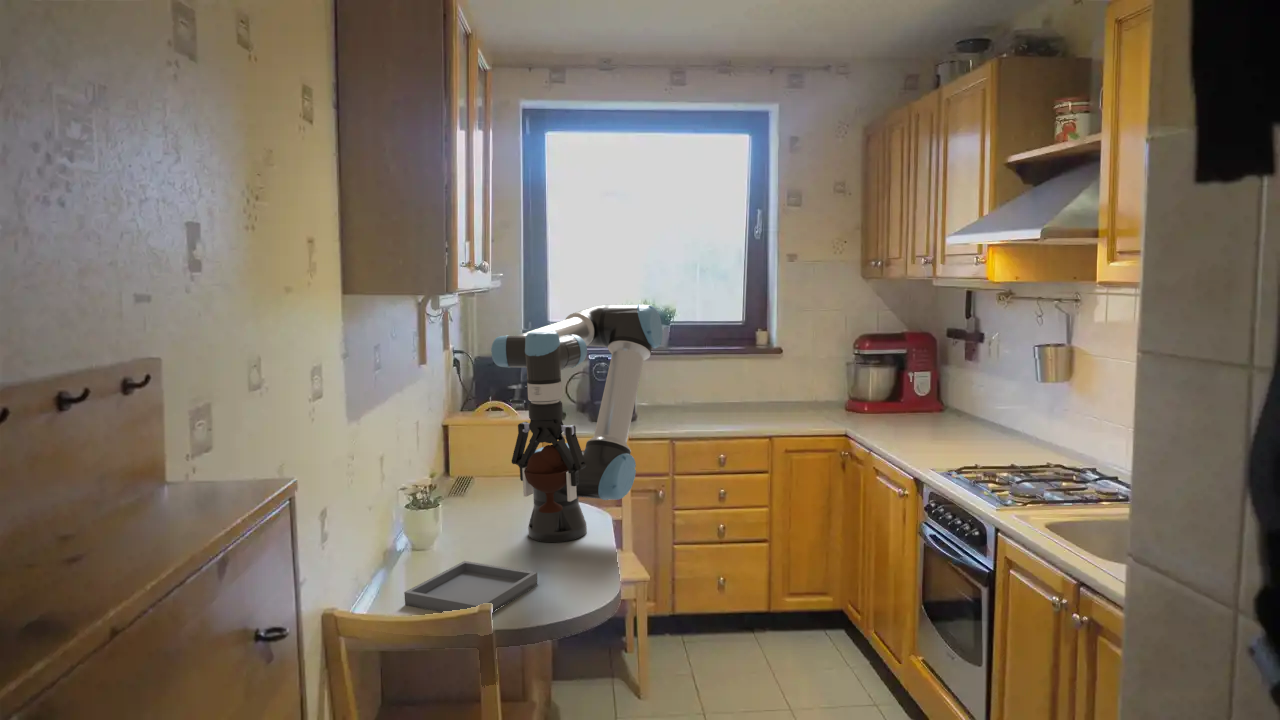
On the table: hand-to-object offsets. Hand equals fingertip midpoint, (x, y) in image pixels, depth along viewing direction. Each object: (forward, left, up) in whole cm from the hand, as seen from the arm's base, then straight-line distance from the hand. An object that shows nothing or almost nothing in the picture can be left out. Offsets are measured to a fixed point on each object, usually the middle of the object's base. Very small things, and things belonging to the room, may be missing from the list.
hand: (550, 497), depth 196 cm
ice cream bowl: (0, 0, -3) cm, 3 cm away
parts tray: (+17, -10, -18) cm, 27 cm away
